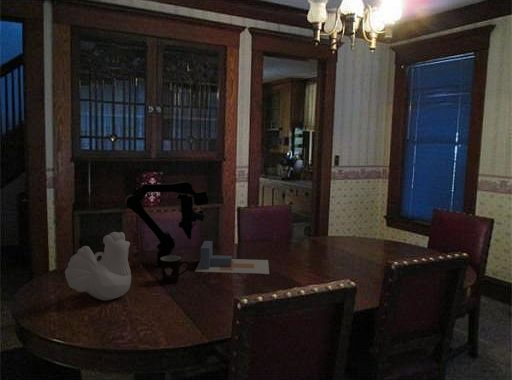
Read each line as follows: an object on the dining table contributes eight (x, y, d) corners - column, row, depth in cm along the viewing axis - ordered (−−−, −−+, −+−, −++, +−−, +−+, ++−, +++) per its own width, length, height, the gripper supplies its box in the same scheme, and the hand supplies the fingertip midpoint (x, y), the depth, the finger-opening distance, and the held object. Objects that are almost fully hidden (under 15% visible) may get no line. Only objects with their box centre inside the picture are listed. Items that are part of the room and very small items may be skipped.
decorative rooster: (123, 285, 174) (123, 226, 171) (138, 297, 162) (138, 233, 159) (58, 298, 159) (56, 233, 156) (69, 312, 147) (67, 242, 144)
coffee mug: (155, 282, 180) (155, 259, 179) (169, 276, 187) (169, 254, 186) (177, 287, 174) (178, 263, 173) (190, 281, 182) (190, 258, 181)
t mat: (194, 272, 194) (194, 271, 194) (201, 258, 216) (201, 258, 216) (269, 274, 194) (269, 273, 194) (268, 260, 216) (268, 260, 216)
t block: (200, 268, 198) (200, 248, 197) (204, 260, 212) (204, 240, 211) (230, 269, 198) (230, 248, 197) (232, 261, 212) (232, 241, 211)
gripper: (201, 207, 195) (204, 241, 196) (205, 203, 214) (208, 234, 215) (177, 209, 195) (180, 243, 196) (183, 205, 214) (186, 236, 215)
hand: (189, 239), depth 205 cm, fingers closed
